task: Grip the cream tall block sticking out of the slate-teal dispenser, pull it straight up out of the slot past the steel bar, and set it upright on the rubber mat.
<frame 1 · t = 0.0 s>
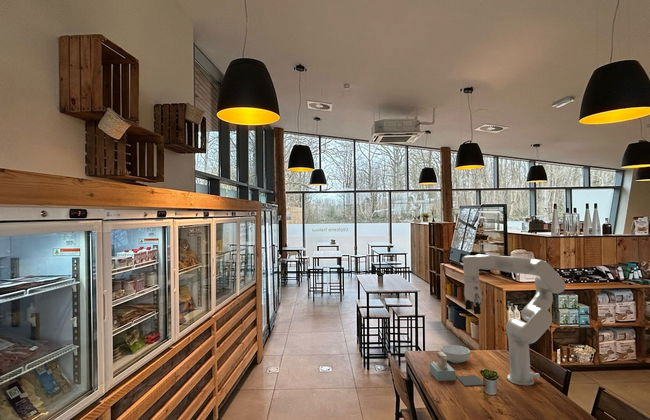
hand: (472, 311, 186), 37 cm above the table, tool pointing down, fingers open, 9 cm apart
dispenser: (442, 375, 193), on the table
cereal bowl: (455, 361, 214), on the table
cream tall block: (442, 375, 193), resting in dispenser
mat: (470, 381, 186), on the table
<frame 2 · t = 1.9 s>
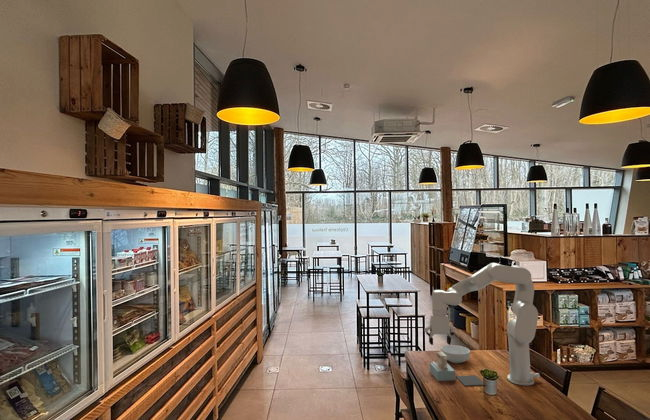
hand: (440, 344, 194), 17 cm above the table, tool pointing down, fingers open, 9 cm apart
nothing on the table moved.
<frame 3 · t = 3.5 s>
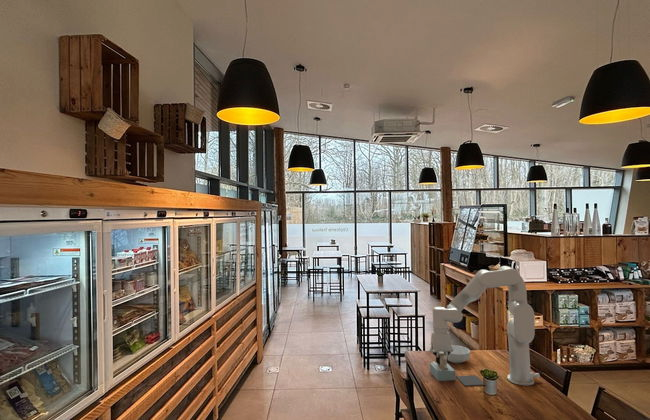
hand: (441, 363, 194), 7 cm above the table, tool pointing down, fingers closed on cream tall block, 3 cm apart
cream tall block: (442, 375, 193), resting in dispenser, touching gripper
everything else where it was.
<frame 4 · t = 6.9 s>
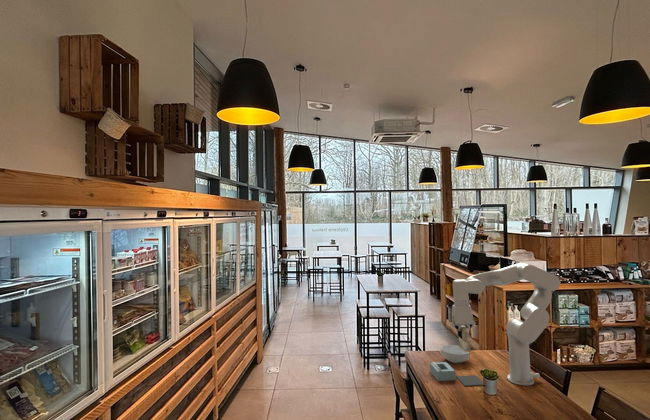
hand: (464, 337, 188), 23 cm above the table, tool pointing down, fingers closed on cream tall block, 3 cm apart
cream tall block: (464, 349, 188), point 16 cm above the table, touching gripper
everything else where it was.
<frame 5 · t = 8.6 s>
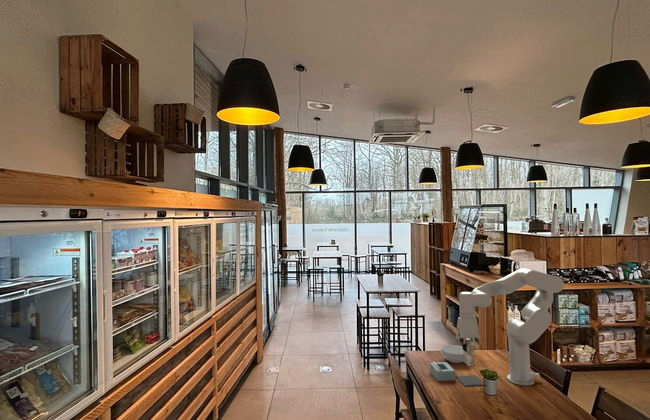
hand: (468, 350, 187), 16 cm above the table, tool pointing down, fingers closed on cream tall block, 3 cm apart
cream tall block: (469, 363, 186), point 9 cm above the table, touching gripper
everything else where it was.
when the fingers open (9 cm above the table, at t = 10.2 s): cream tall block drops 1 cm, resting on mat.
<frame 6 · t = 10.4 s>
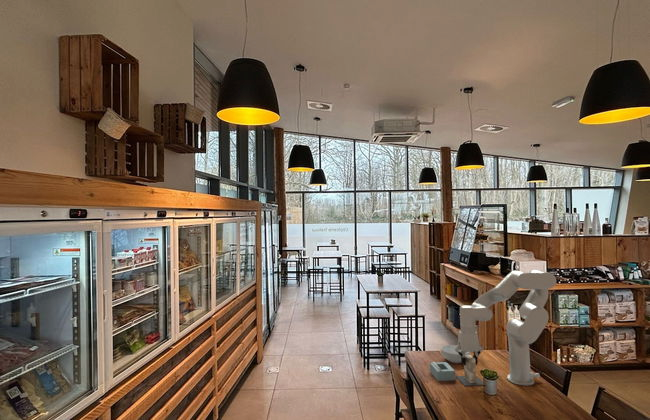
hand: (469, 363, 186), 9 cm above the table, tool pointing down, fingers open, 5 cm apart
cream tall block: (470, 380, 186), point 1 cm above the table, touching mat
everything else where it was.
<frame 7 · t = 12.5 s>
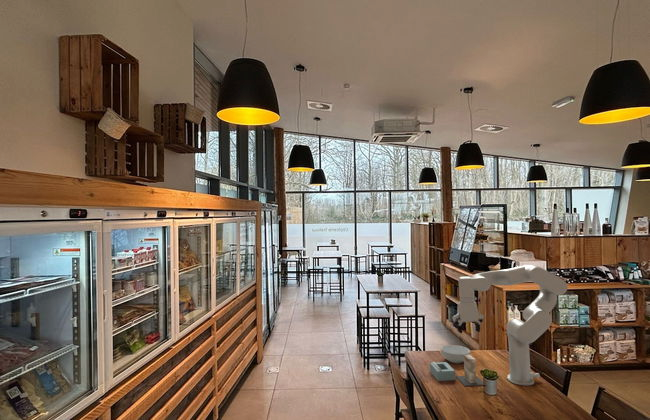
hand: (469, 332, 189), 25 cm above the table, tool pointing down, fingers open, 9 cm apart
nothing on the table moved.
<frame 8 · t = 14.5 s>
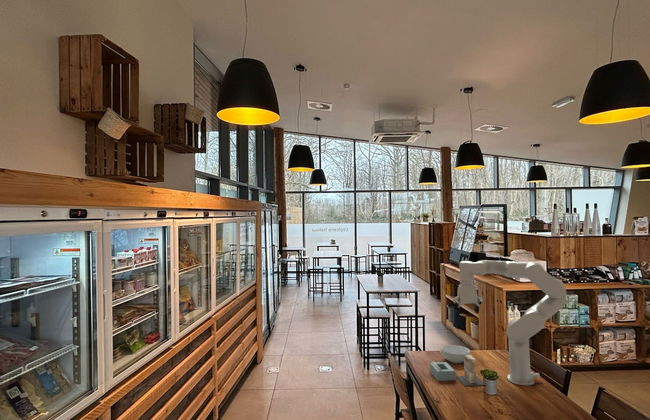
hand: (468, 313, 200), 32 cm above the table, tool pointing down, fingers open, 9 cm apart
nothing on the table moved.
at the end: cream tall block inside the target area on the mat (0.0 cm from its centre), point 0.6 cm above the mat's base; the gripper is holding nothing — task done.
